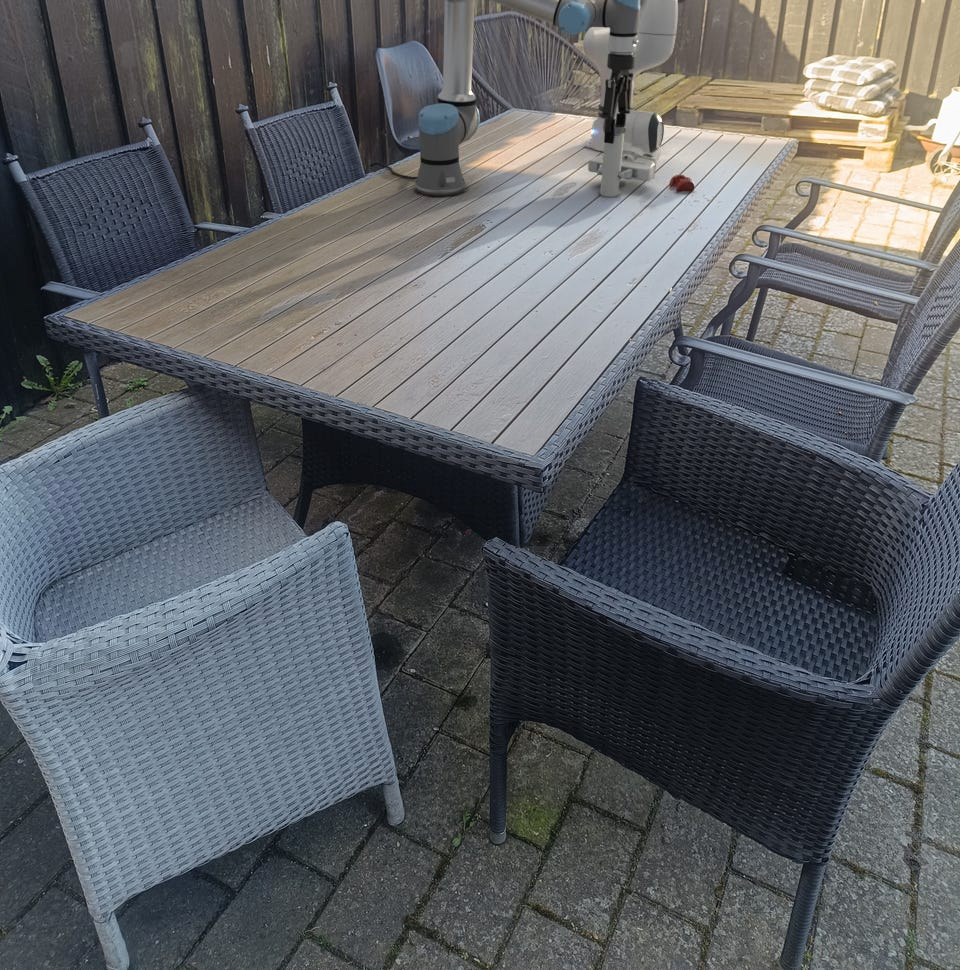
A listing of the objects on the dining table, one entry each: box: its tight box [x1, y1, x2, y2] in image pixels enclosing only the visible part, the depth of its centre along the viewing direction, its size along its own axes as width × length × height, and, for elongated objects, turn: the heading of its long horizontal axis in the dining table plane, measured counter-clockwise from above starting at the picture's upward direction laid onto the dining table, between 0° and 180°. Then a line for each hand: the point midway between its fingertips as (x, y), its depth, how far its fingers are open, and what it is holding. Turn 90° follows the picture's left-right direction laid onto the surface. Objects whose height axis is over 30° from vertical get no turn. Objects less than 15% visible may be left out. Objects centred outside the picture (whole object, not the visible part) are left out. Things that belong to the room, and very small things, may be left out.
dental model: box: [668, 174, 695, 193], centre depth 257 cm, size 6×4×8 cm
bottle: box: [599, 133, 624, 198], centre depth 249 cm, size 6×6×19 cm
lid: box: [604, 123, 626, 134], centre depth 244 cm, size 6×6×2 cm
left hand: (614, 140), depth 246 cm, fingers open, 7 cm apart
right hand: (609, 174), depth 251 cm, fingers closed on bottle, 5 cm apart
